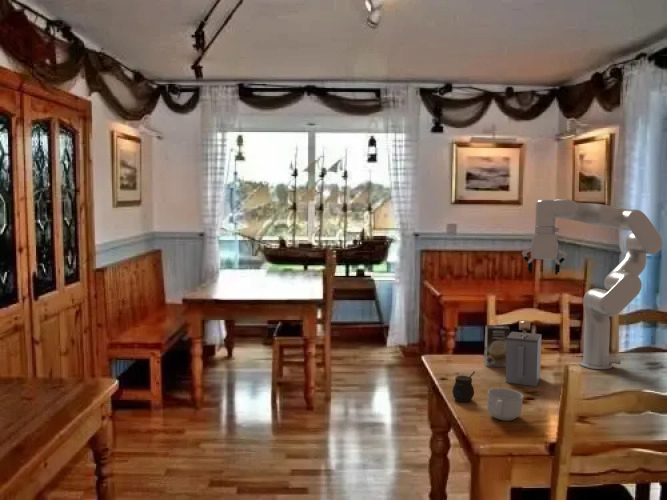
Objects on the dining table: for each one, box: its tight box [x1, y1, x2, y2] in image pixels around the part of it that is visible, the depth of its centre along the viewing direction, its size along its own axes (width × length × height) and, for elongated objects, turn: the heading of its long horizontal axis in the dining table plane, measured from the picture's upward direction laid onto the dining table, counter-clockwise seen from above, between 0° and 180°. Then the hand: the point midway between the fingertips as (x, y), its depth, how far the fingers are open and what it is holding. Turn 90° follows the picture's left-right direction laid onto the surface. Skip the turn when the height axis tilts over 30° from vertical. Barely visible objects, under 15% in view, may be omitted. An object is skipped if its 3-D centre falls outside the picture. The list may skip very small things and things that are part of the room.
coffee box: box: [483, 324, 511, 368], centre depth 255 cm, size 9×6×16 cm
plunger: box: [518, 320, 531, 337], centre depth 234 cm, size 9×9×17 cm
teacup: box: [486, 387, 524, 422], centre depth 195 cm, size 14×11×8 cm
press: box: [505, 331, 542, 387], centre depth 233 cm, size 11×14×17 cm
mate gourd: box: [451, 371, 476, 403], centre depth 212 cm, size 7×8×10 cm
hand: (543, 273), depth 249 cm, fingers open, 9 cm apart
